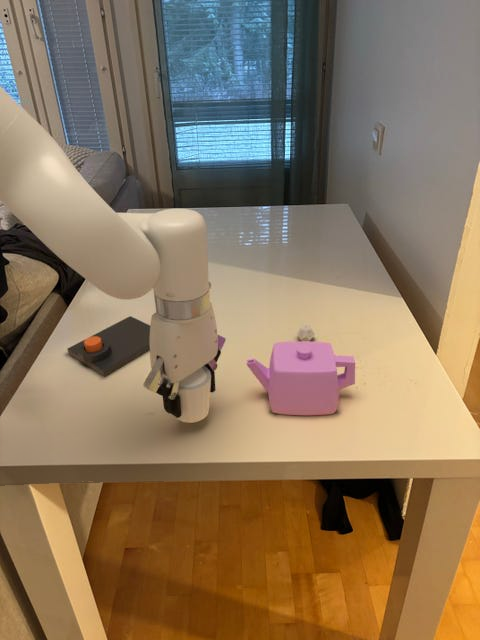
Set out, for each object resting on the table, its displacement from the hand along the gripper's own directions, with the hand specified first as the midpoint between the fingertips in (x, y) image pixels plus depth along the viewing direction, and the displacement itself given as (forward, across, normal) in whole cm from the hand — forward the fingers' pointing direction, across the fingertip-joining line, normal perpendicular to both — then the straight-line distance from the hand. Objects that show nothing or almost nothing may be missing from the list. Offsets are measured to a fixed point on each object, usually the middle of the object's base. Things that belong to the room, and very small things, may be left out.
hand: (190, 399), depth 73 cm
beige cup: (+2, 0, 0) cm, 2 cm away
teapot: (+5, -16, +10) cm, 20 cm away
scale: (+5, -7, -28) cm, 29 cm away
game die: (+5, -32, +1) cm, 32 cm away
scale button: (+3, -1, -28) cm, 28 cm away
